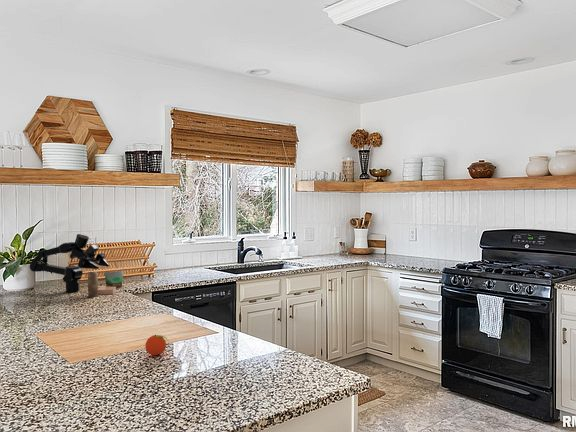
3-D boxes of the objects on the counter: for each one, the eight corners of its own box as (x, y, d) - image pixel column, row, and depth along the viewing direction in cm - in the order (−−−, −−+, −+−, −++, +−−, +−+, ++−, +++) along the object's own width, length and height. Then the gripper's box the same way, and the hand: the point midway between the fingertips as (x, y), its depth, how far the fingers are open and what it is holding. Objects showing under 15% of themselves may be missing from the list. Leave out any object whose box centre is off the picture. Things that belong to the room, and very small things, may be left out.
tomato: (171, 351, 176) (170, 331, 176) (167, 358, 169) (166, 337, 169) (148, 352, 176) (147, 332, 175) (143, 358, 169) (142, 337, 168)
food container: (110, 290, 291) (109, 272, 291) (104, 288, 295) (103, 271, 294) (128, 286, 301) (128, 270, 301) (122, 285, 305) (122, 269, 304)
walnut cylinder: (87, 297, 270) (86, 273, 270) (89, 295, 275) (88, 272, 275) (96, 297, 271) (96, 273, 270) (98, 295, 276) (98, 271, 275)
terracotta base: (96, 294, 278) (96, 290, 278) (99, 291, 287) (99, 287, 287) (113, 293, 279) (112, 289, 279) (116, 290, 288) (115, 286, 288)
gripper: (75, 243, 274) (97, 256, 271) (97, 240, 292) (118, 252, 288) (68, 261, 276) (90, 274, 272) (91, 257, 294) (112, 269, 290)
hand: (103, 267), depth 281 cm, fingers open, 9 cm apart
